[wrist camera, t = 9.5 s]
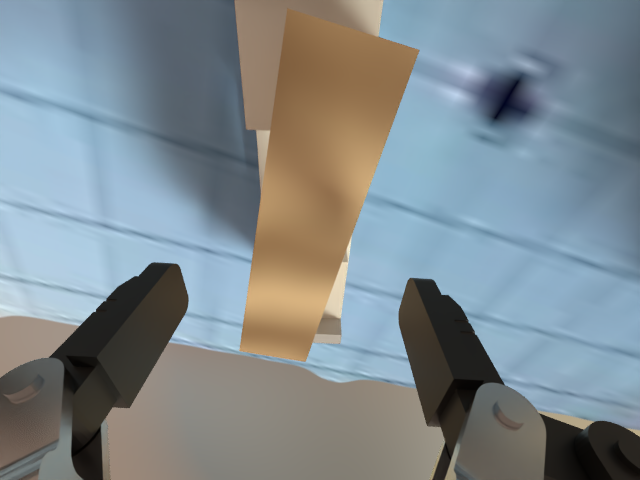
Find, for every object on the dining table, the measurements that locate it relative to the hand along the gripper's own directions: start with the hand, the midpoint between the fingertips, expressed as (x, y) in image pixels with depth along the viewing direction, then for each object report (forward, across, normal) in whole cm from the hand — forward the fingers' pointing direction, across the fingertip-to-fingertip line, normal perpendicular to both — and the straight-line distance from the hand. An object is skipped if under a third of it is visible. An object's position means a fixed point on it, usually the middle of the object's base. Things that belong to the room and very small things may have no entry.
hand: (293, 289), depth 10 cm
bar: (+7, 0, 0) cm, 7 cm away
